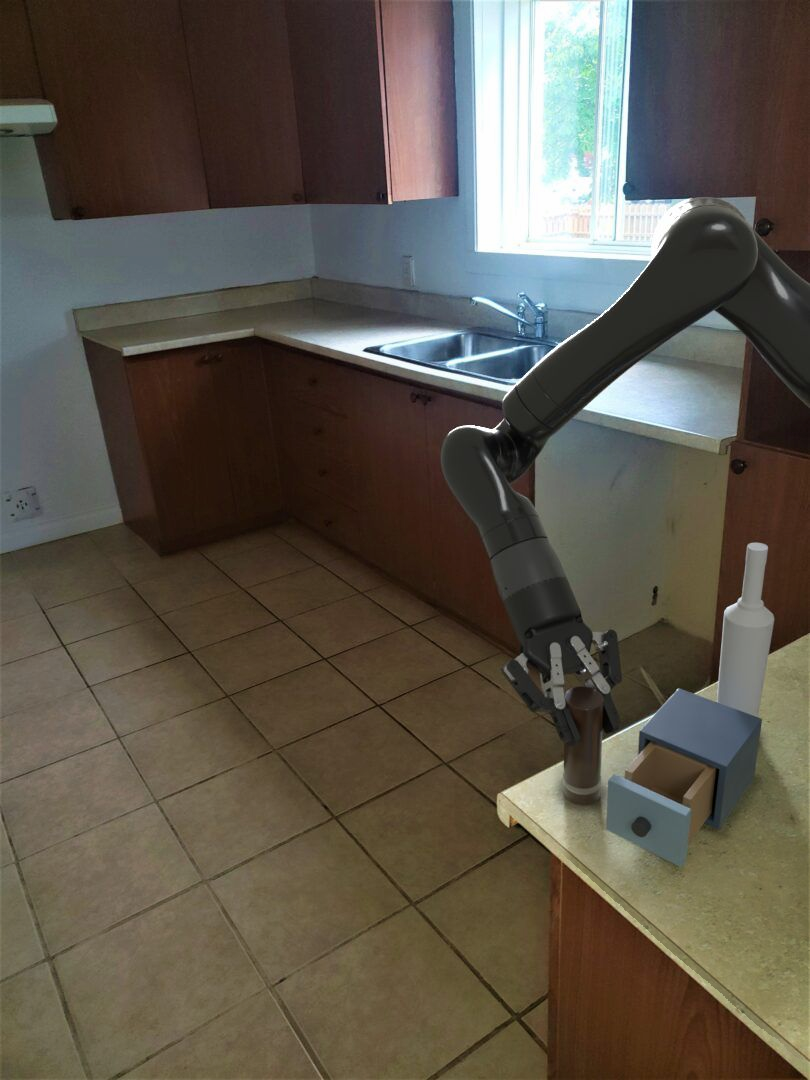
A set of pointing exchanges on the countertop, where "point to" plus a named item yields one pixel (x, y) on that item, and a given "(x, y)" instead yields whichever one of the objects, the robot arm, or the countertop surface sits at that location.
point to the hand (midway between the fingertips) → (594, 737)
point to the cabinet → (709, 744)
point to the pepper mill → (584, 746)
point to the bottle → (746, 639)
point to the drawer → (661, 801)
